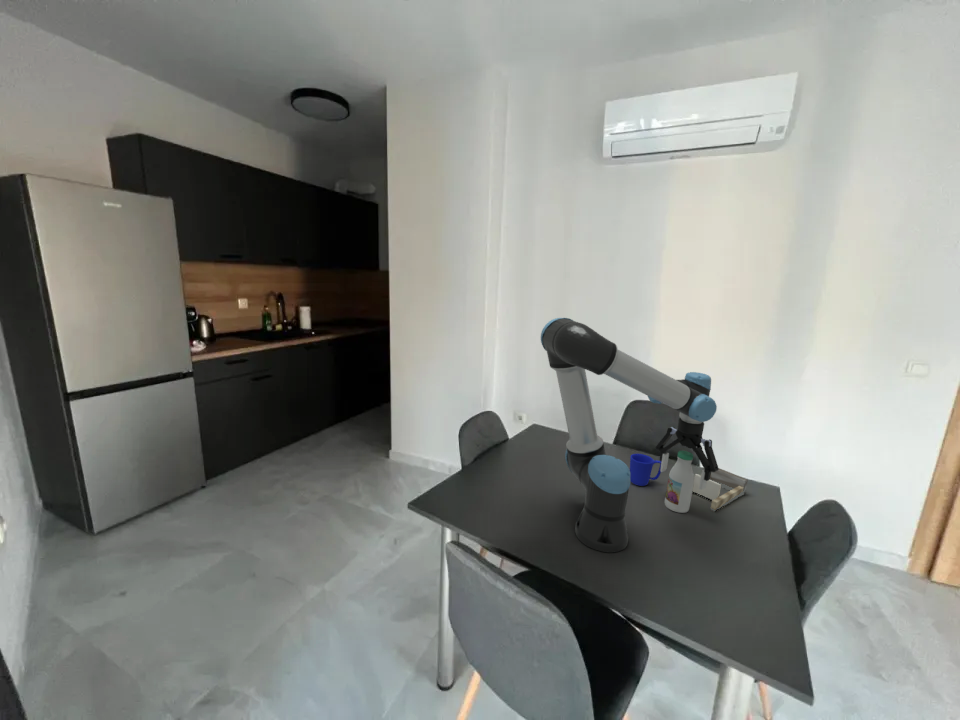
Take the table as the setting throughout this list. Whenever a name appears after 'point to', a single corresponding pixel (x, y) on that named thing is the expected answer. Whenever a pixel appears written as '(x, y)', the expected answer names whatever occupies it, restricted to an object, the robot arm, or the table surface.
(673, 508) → the milk bottle
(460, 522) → the table surface
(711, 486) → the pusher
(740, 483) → the lane
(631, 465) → the mug
